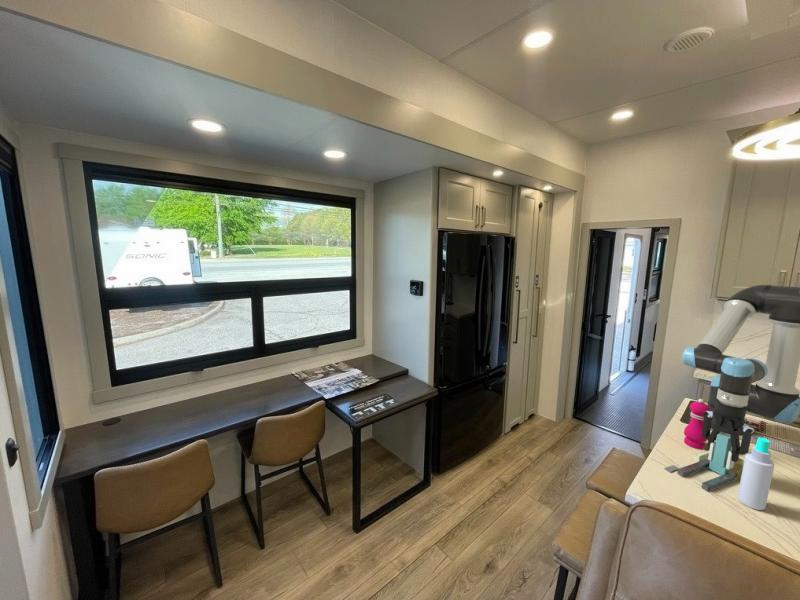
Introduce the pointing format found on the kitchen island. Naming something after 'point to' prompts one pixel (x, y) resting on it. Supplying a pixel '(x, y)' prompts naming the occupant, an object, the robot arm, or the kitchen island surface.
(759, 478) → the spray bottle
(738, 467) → the olive cube
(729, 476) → the channel
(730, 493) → the kitchen island surface
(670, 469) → the mat
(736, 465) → the olive yellow cube
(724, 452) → the teal rectangular block
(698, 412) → the pepper mill
